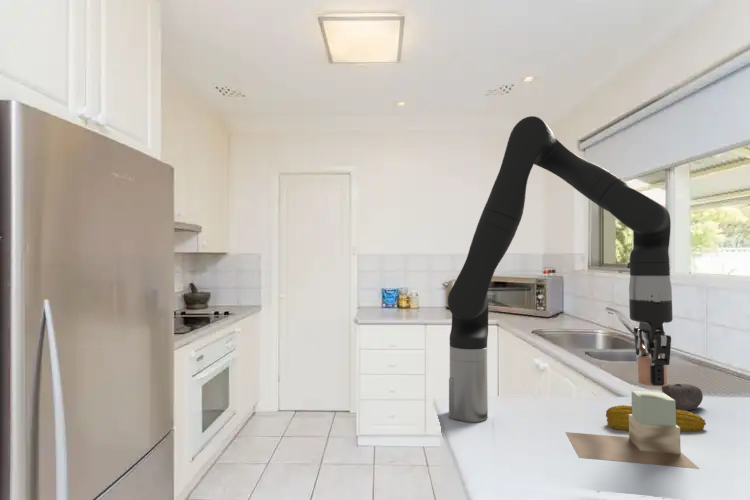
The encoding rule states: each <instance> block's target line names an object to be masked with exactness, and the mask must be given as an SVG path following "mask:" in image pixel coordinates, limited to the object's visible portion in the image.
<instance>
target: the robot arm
mask: <svg viewBox="0 0 750 500" xmlns="http://www.w3.org/2000/svg"><path fill="white" fill-rule="evenodd" d="M534 165H535V166H538V167H540V168H541V169H544V170H546V171H549V172H550V173H552V174H553V175H555V176H557V177H559V178H561V179H562V180H563V181H564V182H566V183H567V184H569V185H570V186H571V187H572V188H574V189H575V190H576V191H578V193H580V194H581V195H583V196H585V198H587V199H589V200H590V201H591V202H593V203H594V204H596V205H597V206H598V207H600V208H602V209H603V210H604V211H607V212H609V213H610V214H611V215H612V216H613V217H615V219H617V220H618V221H619V222H621V223H622V224H623V225H624V226H626V227H627V228H629V229H630V230H631V231H633V236H632V237H633V239H632V240H633V248H632V250H631V251H630V254H629V275H630V276H629V285H628V295H629V296H628V298H629V299H628V300H629V301H628V302H629V303H628V304H629V305H628V306H629V308H628V309H629V319H630V321H633V322H639V325H638V326H637V327H635V326H634V327H633V337H634V346H635V354H636V356H638V357H640V356H649V360H650V365H651V366H650V380H651V384H652V385H655V386H654V387H662V386H663V385H664V367H665V366H666V365H667V366H670V363H671V362H670V359H671V348H672V347H671V346H672V336H671V335H668V334H666V332H665V331H664V330H665V329H664V326H663V325H664V324H667V323H671V322H672V321H673V293H672V292H673V291H672V288H673V287H672V282H671V274H670V273H671V272H670V271H671V270H670V255H669V247H670V238H671V227H672V226H671V215H670V213H669V210H668V209H667V208H666V207H665V206H664V205H662V204H661V203H659V202H657V201H656V200H654V199H653V198H650V197H649V196H647V195H645V194H643V193H642V192H640V191H638V190H637V189H635V188H633V187H631V185H629V183H627V182H626V181H624V180H623V179H622V178H620V177H618V176H617V175H615V174H614V173H612V172H610V171H609V170H607V169H605V168H604V167H603V166H600V165H599V164H597V163H594V162H592V161H590V160H588V159H587V160H586V159H585V158H582V157H581V156H579V155H577V154H576V153H574V152H573V151H572V150H570V149H568V148H567V147H566V146H565V145H564V144H563V143H562V142H561V141H560V140H558V138H556V137H555V135H554V133H553V131H552V129H551V128H550V127H549V125H548V124H547V123H546V121H544V120H543V119H542V118H540V117H539V116H533V115H532V116H531V115H530V116H526V117H524V118H522V119H520V120H519V121H518V122H517V123H516V124H515V125H514V127H513V128H512V130H511V132H510V135H509V137H508V140H507V144H506V148H505V151H504V154H503V158H502V162H501V166H500V168H499V171H498V174H497V176H496V179H495V181H494V183H493V186H492V188H491V190H490V193H489V195H488V198H487V201H486V203H485V205H484V207H483V209H482V213H481V215H480V218H479V219H478V222H477V225H476V227H475V232H474V234H473V237H472V240H471V244H470V246H469V250H468V254H467V256H466V259H465V261H464V263H463V266H462V268H461V270H460V272H459V274H458V276H457V278H456V280H455V282H454V283H453V285H452V286H451V288H450V290H449V293H448V296H447V306H448V309H449V310H448V311H450V313H451V329H450V334H449V378H448V419H454V420H456V421H457V420H458V421H461V422H469V423H477V422H483V421H486V420H487V419H488V411H489V407H488V406H489V405H488V336H489V297H488V292H489V288H490V285H491V282H492V279H493V276H494V273H495V271H496V269H497V267H498V265H499V263H500V262H501V261H502V259H503V258H504V256H505V254H506V253H507V251H508V250H509V247H510V246H511V244H512V242H513V240H514V237H515V235H516V233H517V231H518V228H519V225H520V222H521V220H522V217H523V214H524V208H525V203H526V193H527V186H528V185H527V184H528V179H529V176H530V174H531V170H532V169H533V166H534ZM658 357H659V358H658ZM663 366H664V367H663Z"/></svg>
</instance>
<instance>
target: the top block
mask: <svg viewBox="0 0 750 500" xmlns="http://www.w3.org/2000/svg"><path fill="white" fill-rule="evenodd" d="M631 406H632V415H633V416H634V417H635V418H636V419H637V420H638V421H639V422H640V423H641V424H648V425H661V426H675V427H676V407H675V400H674V399H672V398H671V397H669V396H668V395H666V394H665V393H662V392H659V391H657V392H656V391H641V390H631Z"/></svg>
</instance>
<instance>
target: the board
mask: <svg viewBox="0 0 750 500" xmlns="http://www.w3.org/2000/svg"><path fill="white" fill-rule="evenodd" d="M565 434H566V436H567V438H568V441H569V442H570V443H571V446H572V447H573V449H574V451H575V453H576V454H577V457H578V458H579V459H589V460H591V459H592V460H599V461H600V460H601V461H610V462H611V461H612V462H623V463H634V464H643V465H654V466H655V465H656V466H664V467H665V466H666V467H674V468H675V467H677V468H687V469H700V468H699V467H698V466H697V464H695V463H694V462H693V461H692V460H691V459H690V458H688V457H687V456H686V455H685V454H684V453H683V452H681V454H674V453H662V452H651V451H640V450H639V448H638V447H637V446H636V445H635V444H634V443H633V442H632V441H631V439H630V438H629V436H619V435H608V434H607V435H606V434H605V435H604V434H592V433H583V432H582V433H580V432H570V431H569V432H568V431H567V432H566V431H565Z"/></svg>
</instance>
